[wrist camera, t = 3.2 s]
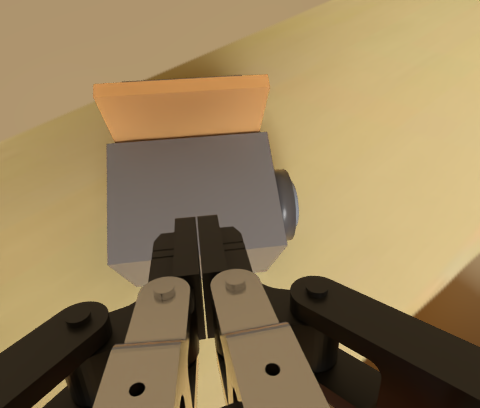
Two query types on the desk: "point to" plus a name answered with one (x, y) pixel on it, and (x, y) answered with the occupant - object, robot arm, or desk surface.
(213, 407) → the desk surface
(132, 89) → the side door
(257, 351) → the robot arm
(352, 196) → the desk surface
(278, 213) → the camera housing
